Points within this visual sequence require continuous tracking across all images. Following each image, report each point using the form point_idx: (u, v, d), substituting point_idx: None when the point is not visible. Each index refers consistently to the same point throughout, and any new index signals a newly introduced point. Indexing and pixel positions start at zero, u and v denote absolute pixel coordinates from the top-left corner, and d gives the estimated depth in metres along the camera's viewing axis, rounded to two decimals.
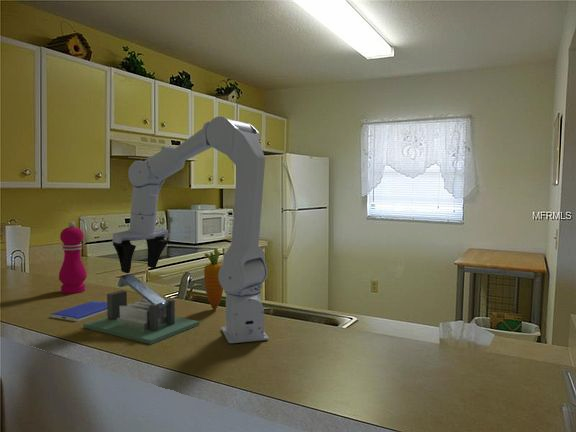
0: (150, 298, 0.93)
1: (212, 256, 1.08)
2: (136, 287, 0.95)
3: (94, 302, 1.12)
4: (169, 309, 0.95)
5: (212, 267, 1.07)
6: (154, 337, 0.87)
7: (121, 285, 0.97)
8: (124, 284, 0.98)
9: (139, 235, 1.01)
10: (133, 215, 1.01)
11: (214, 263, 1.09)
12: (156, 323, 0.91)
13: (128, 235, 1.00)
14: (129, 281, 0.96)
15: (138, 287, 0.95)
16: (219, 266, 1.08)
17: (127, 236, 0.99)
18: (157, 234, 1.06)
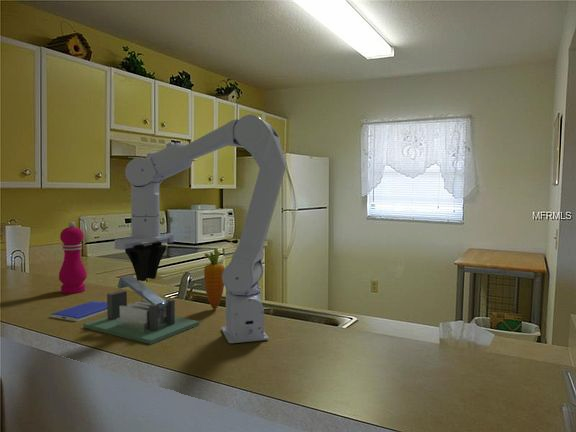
0: (150, 299, 0.93)
1: (212, 256, 1.08)
2: (136, 288, 0.95)
3: (94, 302, 1.12)
4: (169, 309, 0.95)
5: (212, 267, 1.07)
6: (154, 337, 0.87)
7: (121, 286, 0.97)
8: (124, 285, 0.98)
9: (144, 239, 0.91)
10: (134, 218, 0.92)
11: (214, 263, 1.09)
12: (156, 323, 0.91)
13: (132, 240, 0.90)
14: (128, 282, 0.96)
15: (138, 288, 0.95)
16: (219, 266, 1.08)
17: (131, 241, 0.89)
18: (162, 237, 0.96)
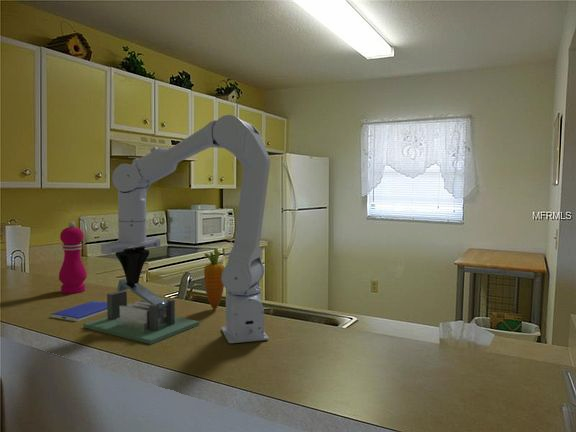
0: (150, 299, 0.93)
1: (212, 256, 1.08)
2: (135, 289, 0.95)
3: (94, 302, 1.12)
4: (169, 309, 0.95)
5: (212, 267, 1.07)
6: (154, 337, 0.87)
7: (120, 289, 0.97)
8: (123, 288, 0.98)
9: (130, 244, 0.93)
10: (121, 223, 0.94)
11: (214, 263, 1.09)
12: (156, 323, 0.91)
13: (118, 245, 0.92)
14: (128, 284, 0.96)
15: (137, 289, 0.95)
16: (219, 266, 1.08)
17: (117, 246, 0.91)
18: (149, 242, 0.98)
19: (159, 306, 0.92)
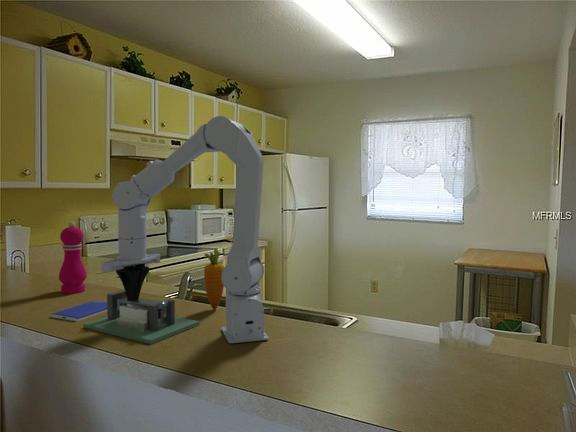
0: (149, 303, 0.93)
1: (212, 256, 1.08)
2: (134, 301, 0.96)
3: (94, 302, 1.12)
4: (169, 309, 0.95)
5: (212, 267, 1.07)
6: (154, 337, 0.87)
7: None
8: None
9: (130, 261, 0.93)
10: (121, 241, 0.94)
11: (214, 263, 1.09)
12: (156, 323, 0.91)
13: (118, 262, 0.92)
14: (126, 299, 0.97)
15: (136, 300, 0.96)
16: (219, 266, 1.08)
17: (117, 264, 0.92)
18: (149, 259, 0.98)
19: (159, 305, 0.92)
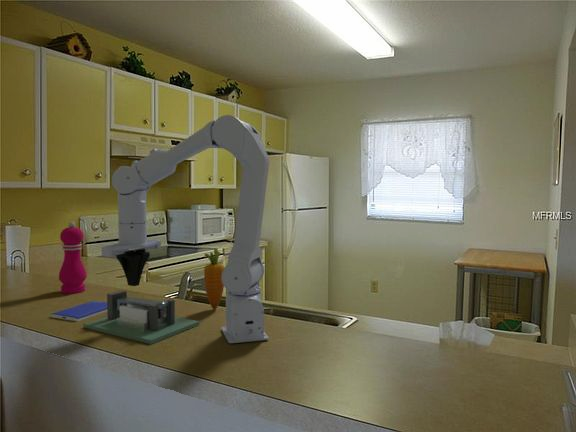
0: (149, 303, 0.93)
1: (212, 256, 1.08)
2: (134, 301, 0.96)
3: (94, 302, 1.12)
4: (169, 309, 0.95)
5: (212, 267, 1.07)
6: (154, 337, 0.87)
7: None
8: None
9: (130, 246, 0.93)
10: (121, 225, 0.94)
11: (214, 263, 1.09)
12: (156, 323, 0.91)
13: (118, 247, 0.92)
14: (126, 299, 0.97)
15: (136, 300, 0.96)
16: (219, 266, 1.08)
17: (117, 248, 0.91)
18: (149, 244, 0.98)
19: (159, 305, 0.92)
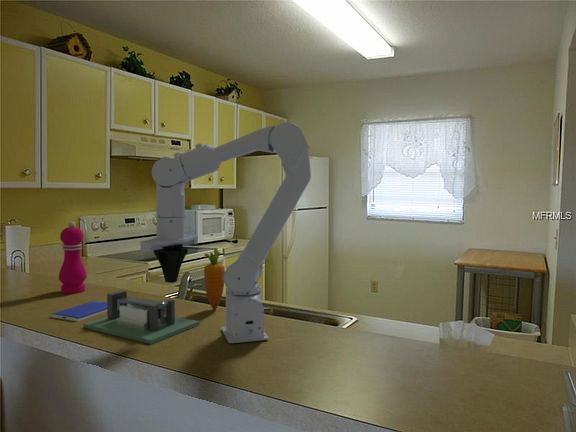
0: (149, 303, 0.93)
1: (212, 256, 1.08)
2: (134, 301, 0.96)
3: (94, 302, 1.12)
4: (169, 309, 0.95)
5: (212, 267, 1.07)
6: (154, 337, 0.87)
7: None
8: None
9: (169, 241, 0.89)
10: (160, 219, 0.90)
11: (214, 263, 1.09)
12: (156, 323, 0.91)
13: (158, 242, 0.87)
14: (126, 299, 0.97)
15: (136, 300, 0.96)
16: (219, 266, 1.08)
17: (157, 243, 0.87)
18: (188, 239, 0.93)
19: (159, 305, 0.92)
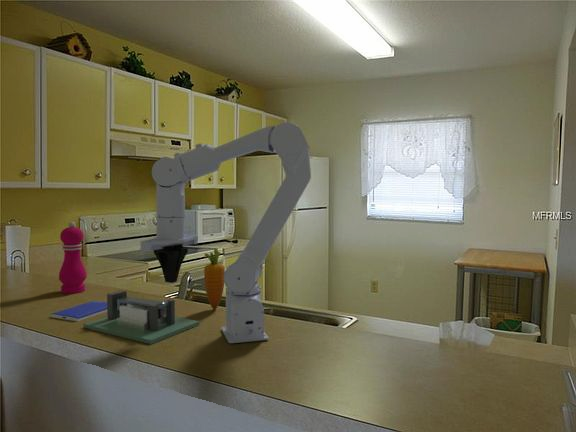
0: (149, 303, 0.93)
1: (212, 256, 1.08)
2: (134, 301, 0.96)
3: (94, 302, 1.12)
4: (169, 309, 0.95)
5: (212, 267, 1.07)
6: (154, 337, 0.87)
7: None
8: None
9: (169, 241, 0.89)
10: (160, 219, 0.90)
11: (214, 263, 1.09)
12: (156, 323, 0.91)
13: (158, 241, 0.87)
14: (126, 299, 0.97)
15: (136, 300, 0.96)
16: (219, 266, 1.08)
17: (157, 243, 0.87)
18: (188, 239, 0.93)
19: (159, 305, 0.92)
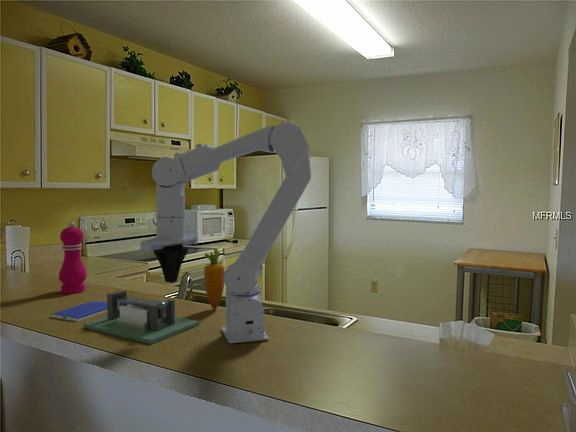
0: (149, 303, 0.93)
1: (212, 256, 1.08)
2: (134, 301, 0.96)
3: (94, 302, 1.12)
4: (169, 309, 0.95)
5: (212, 267, 1.07)
6: (154, 337, 0.87)
7: None
8: None
9: (169, 241, 0.89)
10: (160, 219, 0.90)
11: (214, 263, 1.09)
12: (156, 323, 0.91)
13: (158, 241, 0.87)
14: (126, 299, 0.97)
15: (136, 300, 0.96)
16: (219, 266, 1.08)
17: (157, 243, 0.87)
18: (188, 239, 0.93)
19: (159, 305, 0.92)
